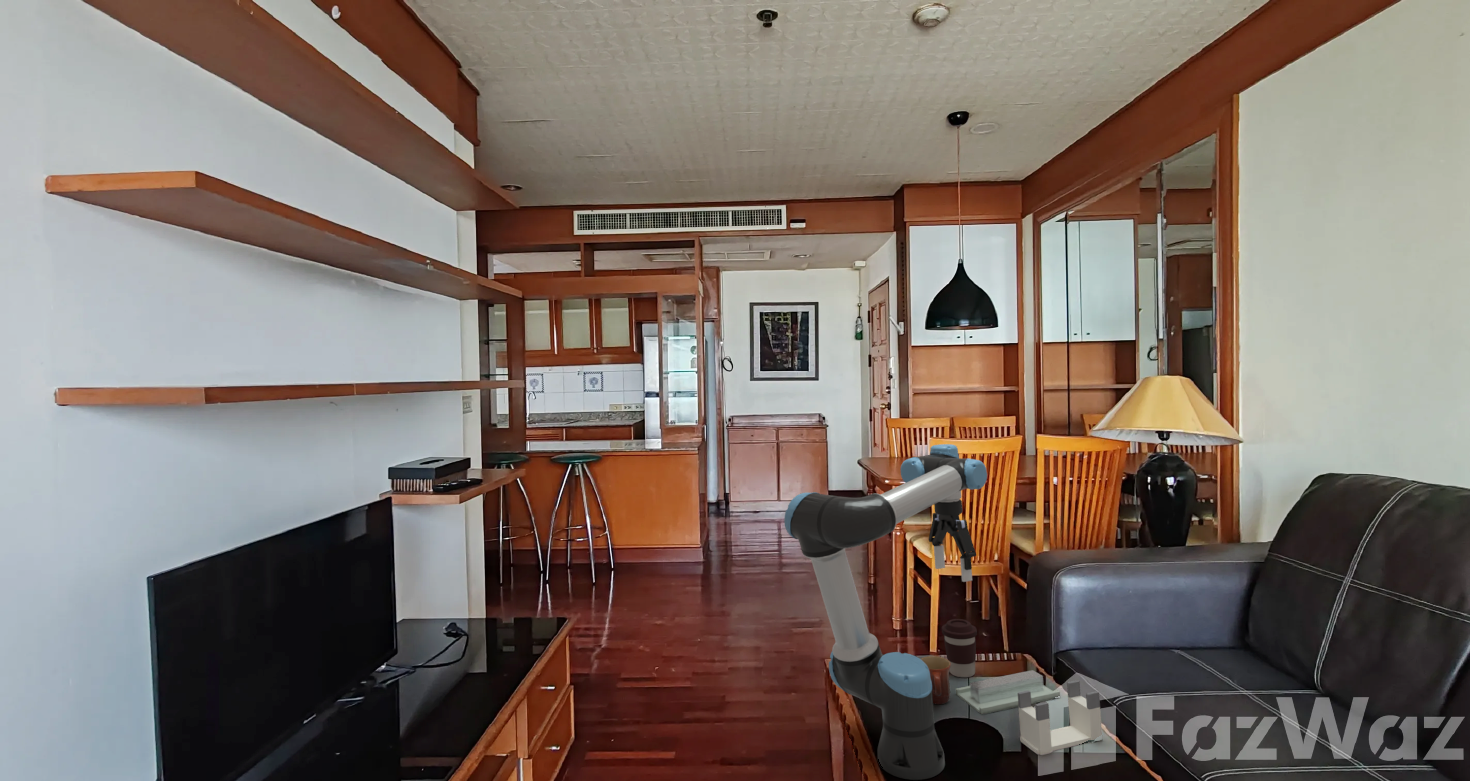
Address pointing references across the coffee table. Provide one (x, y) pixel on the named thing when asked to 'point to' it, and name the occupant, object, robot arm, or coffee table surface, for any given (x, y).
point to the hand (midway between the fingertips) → (953, 574)
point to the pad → (1004, 700)
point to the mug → (939, 678)
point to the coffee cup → (960, 646)
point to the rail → (1006, 686)
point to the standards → (1045, 740)
